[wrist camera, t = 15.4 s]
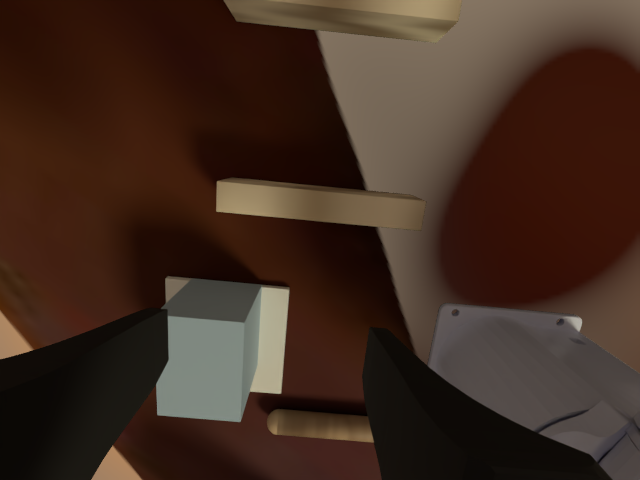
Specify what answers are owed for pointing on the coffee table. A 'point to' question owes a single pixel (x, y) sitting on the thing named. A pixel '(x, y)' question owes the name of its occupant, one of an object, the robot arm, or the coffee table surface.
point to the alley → (354, 18)
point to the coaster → (261, 333)
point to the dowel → (320, 425)
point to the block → (210, 350)
